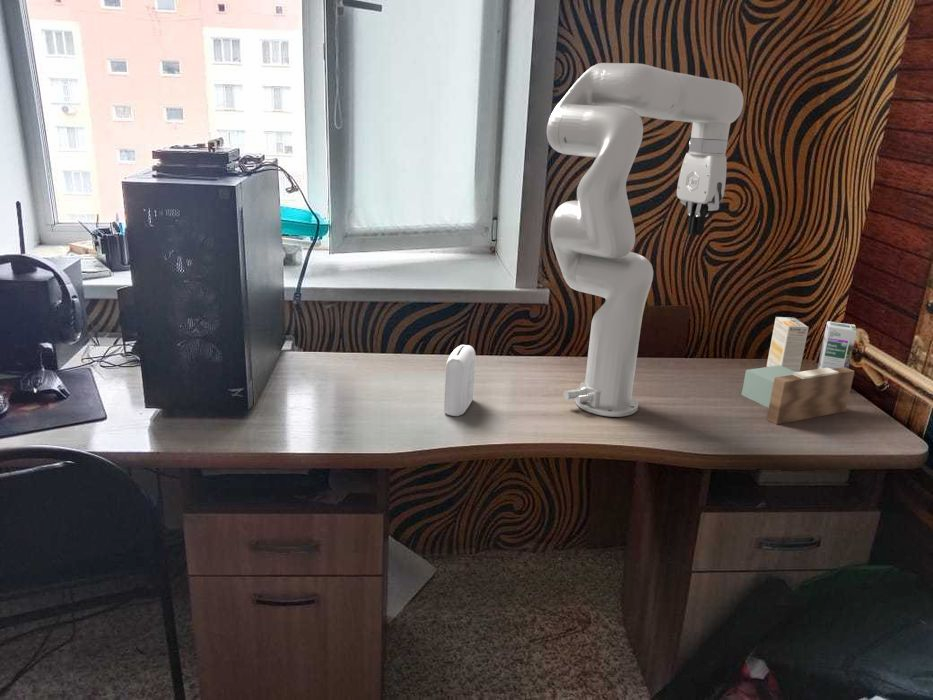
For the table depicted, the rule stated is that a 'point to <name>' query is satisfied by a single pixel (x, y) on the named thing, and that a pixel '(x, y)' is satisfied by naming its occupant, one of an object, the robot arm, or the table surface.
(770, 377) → the sage block
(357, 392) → the table surface
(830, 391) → the board
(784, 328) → the supplement box
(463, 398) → the photo printer
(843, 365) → the syrup box
